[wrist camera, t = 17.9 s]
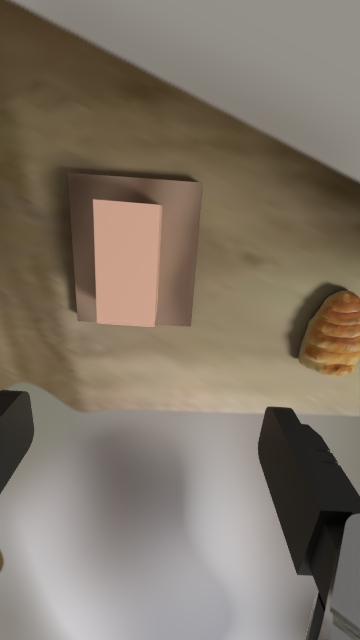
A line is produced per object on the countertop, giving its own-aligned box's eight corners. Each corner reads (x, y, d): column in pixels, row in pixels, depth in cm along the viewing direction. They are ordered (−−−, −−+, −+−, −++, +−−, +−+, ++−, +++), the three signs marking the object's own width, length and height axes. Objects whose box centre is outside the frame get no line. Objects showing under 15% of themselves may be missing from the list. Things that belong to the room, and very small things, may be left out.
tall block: (157, 308, 29) (162, 206, 26) (154, 326, 25) (160, 204, 21) (109, 305, 29) (107, 201, 26) (96, 323, 25) (93, 199, 21)
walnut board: (201, 184, 27) (202, 182, 25) (189, 321, 32) (190, 326, 30) (72, 174, 26) (67, 172, 25) (82, 316, 31) (77, 320, 30)
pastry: (310, 287, 31) (328, 296, 27) (369, 290, 31) (395, 300, 28) (293, 362, 34) (307, 379, 31) (346, 364, 34) (367, 381, 31)
